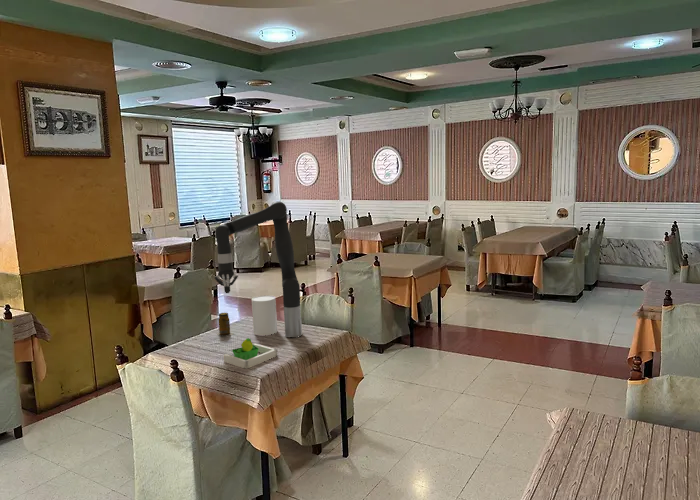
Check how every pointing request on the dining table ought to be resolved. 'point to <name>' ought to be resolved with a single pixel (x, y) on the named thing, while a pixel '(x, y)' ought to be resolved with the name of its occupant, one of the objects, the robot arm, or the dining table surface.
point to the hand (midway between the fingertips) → (227, 292)
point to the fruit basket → (246, 350)
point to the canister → (264, 315)
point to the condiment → (224, 325)
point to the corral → (245, 364)
